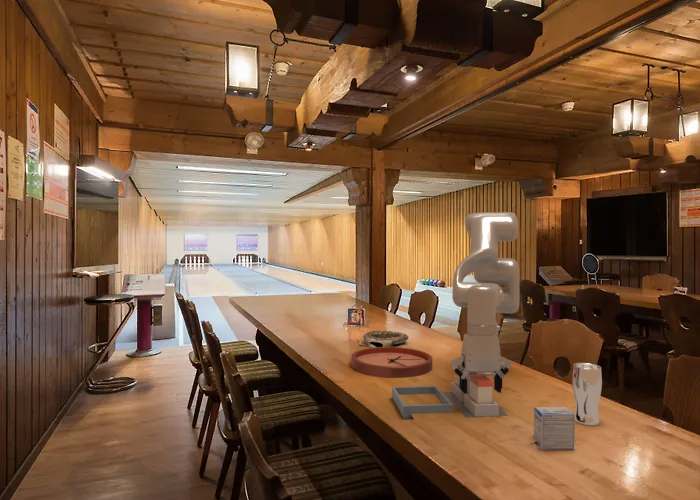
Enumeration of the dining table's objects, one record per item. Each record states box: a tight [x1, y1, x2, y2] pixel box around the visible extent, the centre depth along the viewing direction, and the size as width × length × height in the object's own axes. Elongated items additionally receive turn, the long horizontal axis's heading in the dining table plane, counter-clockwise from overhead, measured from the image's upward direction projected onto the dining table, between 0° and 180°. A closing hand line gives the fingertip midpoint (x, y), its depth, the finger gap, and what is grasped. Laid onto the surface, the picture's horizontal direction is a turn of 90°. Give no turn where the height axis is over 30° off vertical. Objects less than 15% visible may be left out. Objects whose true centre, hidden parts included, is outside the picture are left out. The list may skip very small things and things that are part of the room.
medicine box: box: [533, 406, 576, 451], centre depth 106 cm, size 8×4×9 cm, turn 92°
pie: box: [358, 330, 409, 348], centre depth 213 cm, size 28×27×5 cm
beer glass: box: [572, 362, 603, 427], centre depth 120 cm, size 7×7×15 cm
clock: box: [350, 346, 434, 379], centre depth 174 cm, size 31×4×31 cm
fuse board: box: [442, 381, 509, 418], centre depth 129 cm, size 12×20×4 cm, turn 6°
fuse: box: [456, 363, 477, 391], centre depth 135 cm, size 4×6×9 cm, turn 6°
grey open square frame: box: [391, 385, 454, 420], centre depth 130 cm, size 14×16×4 cm
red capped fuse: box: [470, 375, 493, 404], centre depth 124 cm, size 4×6×9 cm, turn 6°
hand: (480, 391), depth 124 cm, fingers open, 9 cm apart
